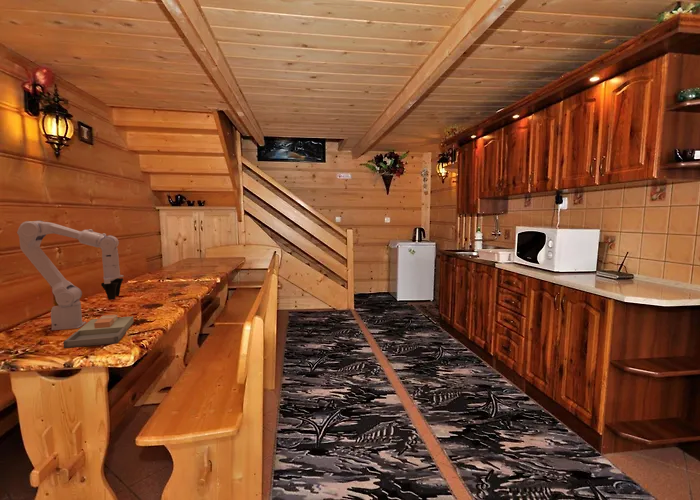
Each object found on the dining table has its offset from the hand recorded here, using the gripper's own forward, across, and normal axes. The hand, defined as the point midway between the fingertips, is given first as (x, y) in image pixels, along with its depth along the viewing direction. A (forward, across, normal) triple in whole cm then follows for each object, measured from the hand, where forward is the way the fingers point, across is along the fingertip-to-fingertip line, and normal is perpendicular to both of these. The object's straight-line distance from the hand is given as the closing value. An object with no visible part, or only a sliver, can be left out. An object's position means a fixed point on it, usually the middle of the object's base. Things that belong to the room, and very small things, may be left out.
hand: (113, 297), depth 155 cm
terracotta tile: (+8, -13, +1) cm, 15 cm away
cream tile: (+8, -8, +1) cm, 11 cm away
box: (+10, -22, +1) cm, 25 cm away
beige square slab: (+10, -10, +1) cm, 14 cm away
